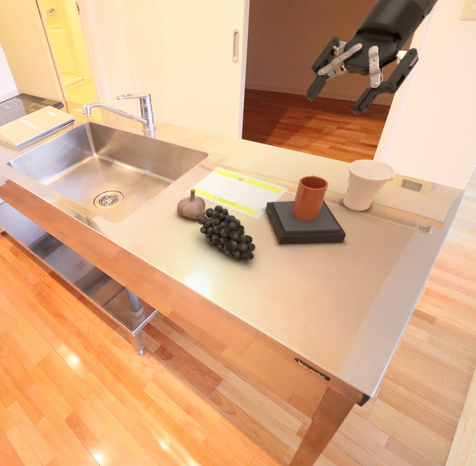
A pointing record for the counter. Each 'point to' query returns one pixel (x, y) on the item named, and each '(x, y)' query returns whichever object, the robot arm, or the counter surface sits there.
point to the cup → (366, 182)
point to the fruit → (226, 233)
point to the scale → (303, 225)
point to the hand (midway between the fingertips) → (331, 105)
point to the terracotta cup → (309, 198)
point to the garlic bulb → (192, 206)
